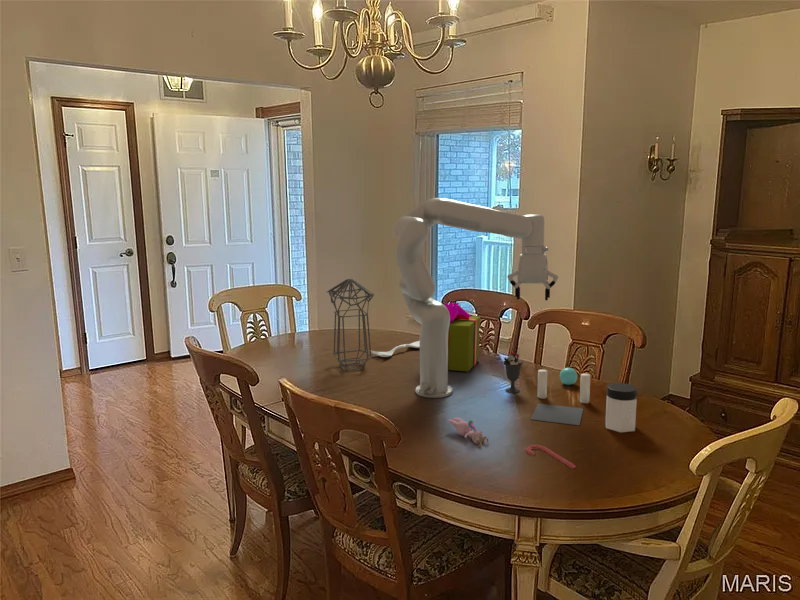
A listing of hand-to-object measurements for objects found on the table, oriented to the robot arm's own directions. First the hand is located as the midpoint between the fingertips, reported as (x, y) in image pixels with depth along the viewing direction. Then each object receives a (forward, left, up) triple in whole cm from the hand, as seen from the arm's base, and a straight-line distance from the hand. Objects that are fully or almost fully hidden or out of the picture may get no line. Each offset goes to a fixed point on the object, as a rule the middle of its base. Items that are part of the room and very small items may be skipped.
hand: (532, 299), depth 211 cm
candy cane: (-61, -15, -31) cm, 70 cm away
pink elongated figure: (-55, +9, -30) cm, 63 cm away
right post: (-16, -20, -30) cm, 39 cm away
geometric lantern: (-6, +68, -30) cm, 74 cm away
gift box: (+10, +32, -30) cm, 45 cm away
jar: (-34, -31, -30) cm, 55 cm away
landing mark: (-30, -13, -30) cm, 44 cm away
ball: (0, -13, -27) cm, 30 cm away
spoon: (+22, +57, -30) cm, 68 cm away
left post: (-16, -6, -30) cm, 34 cm away
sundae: (-13, +4, -30) cm, 33 cm away
